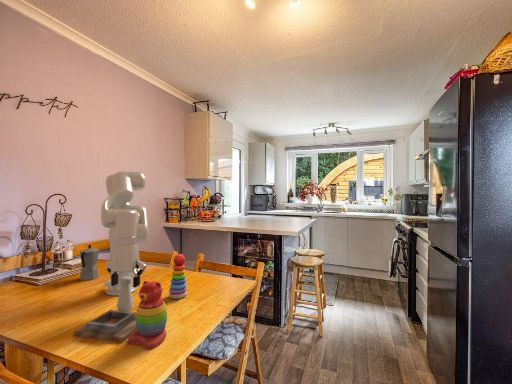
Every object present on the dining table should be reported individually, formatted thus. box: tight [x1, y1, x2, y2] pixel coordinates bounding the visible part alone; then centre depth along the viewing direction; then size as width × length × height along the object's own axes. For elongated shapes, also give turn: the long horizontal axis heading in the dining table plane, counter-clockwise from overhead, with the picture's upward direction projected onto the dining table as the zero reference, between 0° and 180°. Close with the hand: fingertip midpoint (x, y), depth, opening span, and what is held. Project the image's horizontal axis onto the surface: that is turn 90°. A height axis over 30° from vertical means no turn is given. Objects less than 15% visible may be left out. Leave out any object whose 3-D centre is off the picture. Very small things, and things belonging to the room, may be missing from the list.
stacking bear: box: [127, 280, 168, 350], centre depth 85 cm, size 11×10×18 cm
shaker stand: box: [73, 309, 137, 343], centre depth 90 cm, size 18×12×4 cm, turn 78°
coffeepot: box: [79, 244, 100, 282], centre depth 144 cm, size 15×9×18 cm, turn 9°
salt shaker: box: [116, 276, 134, 312], centre depth 105 cm, size 6×6×13 cm
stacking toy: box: [168, 253, 188, 300], centre depth 120 cm, size 8×8×19 cm
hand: (125, 285), depth 104 cm, fingers open, 9 cm apart
